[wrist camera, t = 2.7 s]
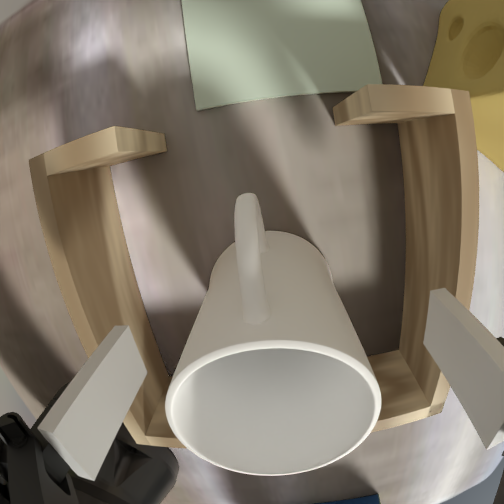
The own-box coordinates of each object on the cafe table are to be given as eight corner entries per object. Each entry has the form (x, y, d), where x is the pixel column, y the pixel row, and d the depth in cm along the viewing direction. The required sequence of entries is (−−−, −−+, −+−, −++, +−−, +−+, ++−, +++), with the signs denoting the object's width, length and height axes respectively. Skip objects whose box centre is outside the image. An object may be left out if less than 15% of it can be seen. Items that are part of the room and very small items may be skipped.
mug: (197, 185, 19) (104, 231, 8) (331, 176, 18) (420, 211, 7) (218, 342, 23) (185, 475, 11) (329, 336, 22) (366, 468, 11)
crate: (160, 385, 24) (137, 443, 18) (93, 154, 19) (28, 160, 12) (409, 357, 23) (441, 412, 16) (409, 106, 17) (468, 91, 10)
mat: (197, 110, 18) (196, 109, 17) (179, -29, 14) (177, -31, 14) (381, 91, 16) (383, 90, 16) (342, -45, 13) (343, -47, 12)
